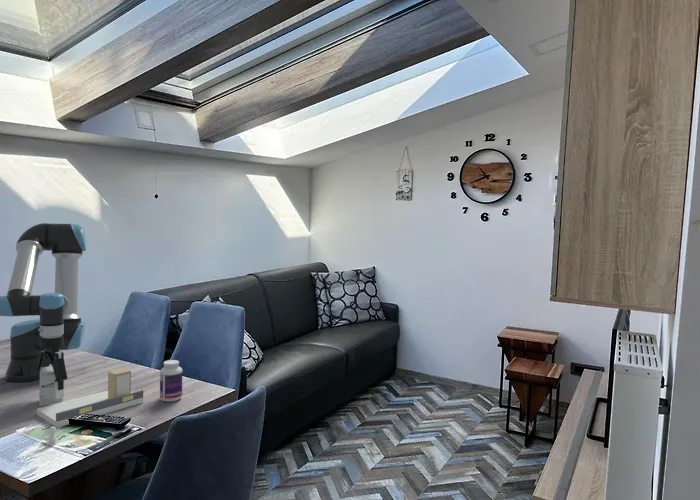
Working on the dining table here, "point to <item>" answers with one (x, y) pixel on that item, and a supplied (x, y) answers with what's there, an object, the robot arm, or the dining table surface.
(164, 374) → the pill bottle
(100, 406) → the shelf
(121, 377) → the carton
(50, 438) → the figurine
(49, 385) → the supplement box
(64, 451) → the dining table surface
